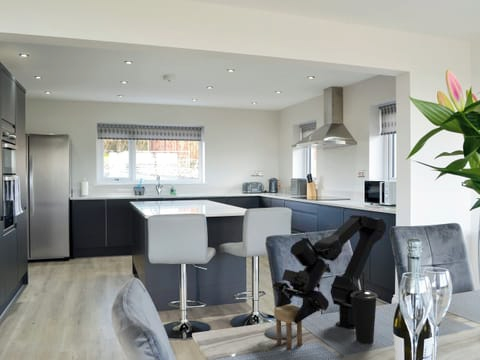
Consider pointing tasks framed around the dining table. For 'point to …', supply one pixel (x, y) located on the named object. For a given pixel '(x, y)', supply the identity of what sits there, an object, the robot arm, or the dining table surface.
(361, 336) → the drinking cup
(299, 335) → the wooden stool
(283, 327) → the disc
